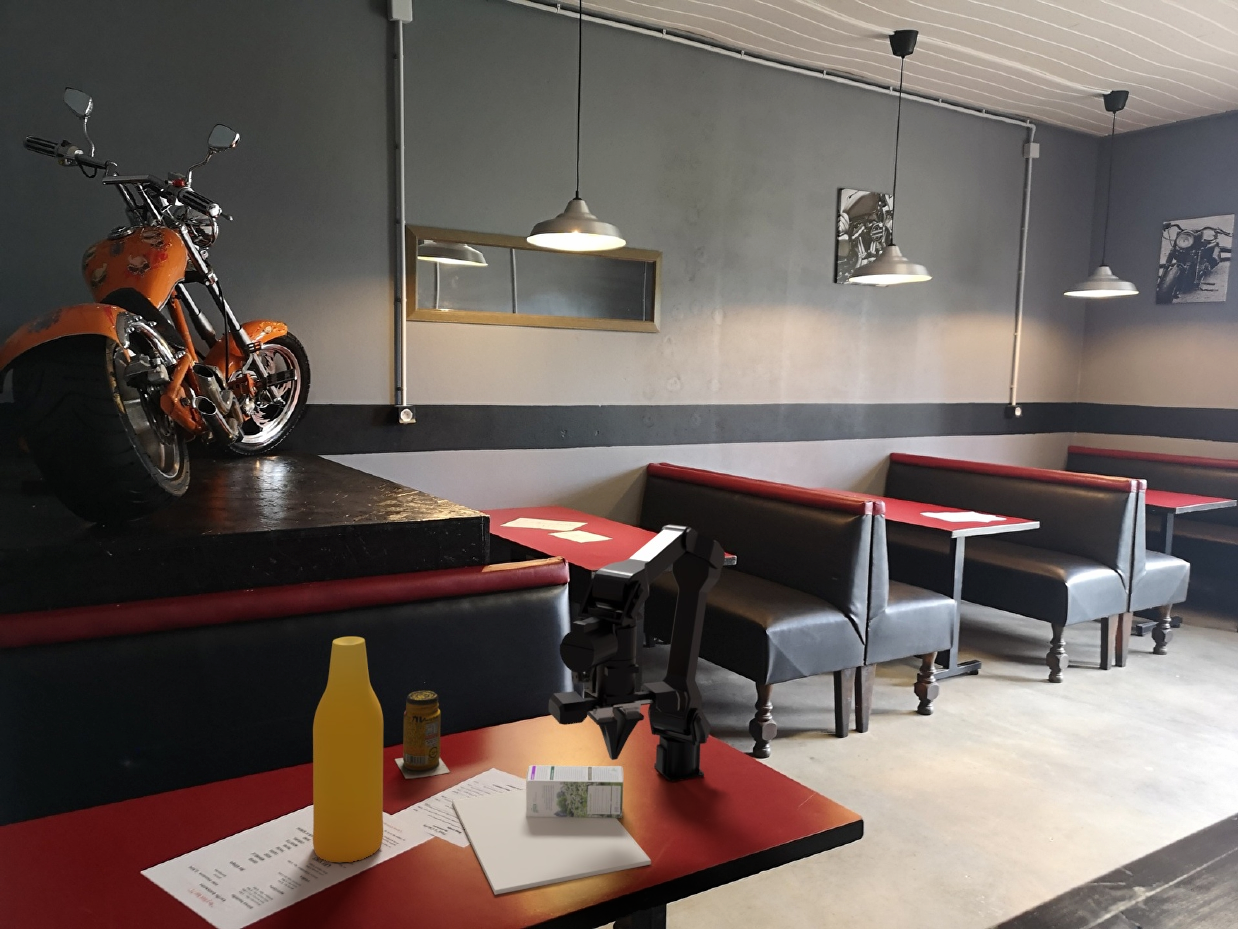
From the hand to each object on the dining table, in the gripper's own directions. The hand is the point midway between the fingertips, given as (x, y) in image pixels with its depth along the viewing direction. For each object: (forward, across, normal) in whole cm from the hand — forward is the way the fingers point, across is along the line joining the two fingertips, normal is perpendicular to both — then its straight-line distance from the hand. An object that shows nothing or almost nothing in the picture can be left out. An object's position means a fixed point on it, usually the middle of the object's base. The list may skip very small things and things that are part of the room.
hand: (613, 758), depth 131 cm
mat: (+10, +10, 0) cm, 14 cm away
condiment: (+10, +23, -28) cm, 38 cm away
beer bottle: (+10, +37, -5) cm, 39 cm away
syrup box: (+6, -2, -1) cm, 7 cm away
